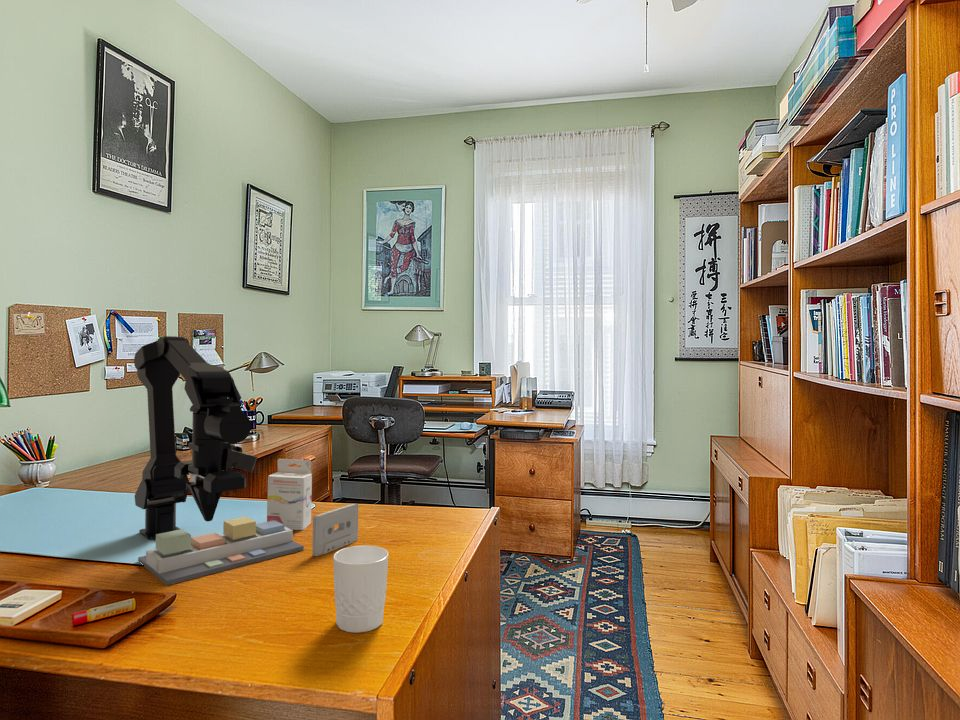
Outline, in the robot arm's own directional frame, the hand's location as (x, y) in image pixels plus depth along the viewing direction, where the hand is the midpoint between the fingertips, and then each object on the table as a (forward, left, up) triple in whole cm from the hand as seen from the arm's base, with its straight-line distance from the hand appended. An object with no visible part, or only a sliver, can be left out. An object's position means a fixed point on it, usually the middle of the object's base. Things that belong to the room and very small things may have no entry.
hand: (208, 520), depth 108 cm
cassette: (+10, +21, -8) cm, 25 cm away
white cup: (+40, +6, -8) cm, 41 cm away
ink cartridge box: (-9, +21, -8) cm, 24 cm away
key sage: (0, -6, -4) cm, 7 cm away
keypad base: (0, +3, -7) cm, 8 cm away
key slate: (0, +12, -6) cm, 13 cm away
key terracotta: (0, 0, -6) cm, 6 cm away
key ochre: (0, +6, -4) cm, 7 cm away
